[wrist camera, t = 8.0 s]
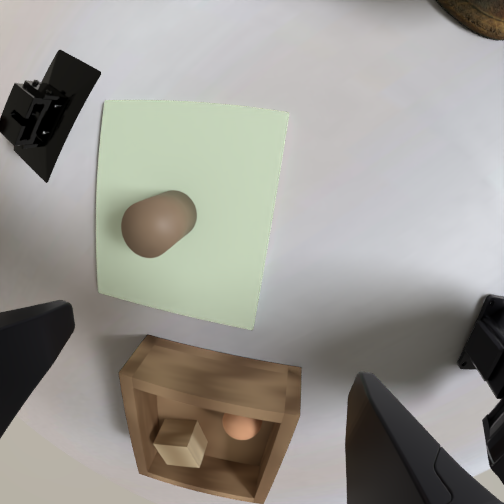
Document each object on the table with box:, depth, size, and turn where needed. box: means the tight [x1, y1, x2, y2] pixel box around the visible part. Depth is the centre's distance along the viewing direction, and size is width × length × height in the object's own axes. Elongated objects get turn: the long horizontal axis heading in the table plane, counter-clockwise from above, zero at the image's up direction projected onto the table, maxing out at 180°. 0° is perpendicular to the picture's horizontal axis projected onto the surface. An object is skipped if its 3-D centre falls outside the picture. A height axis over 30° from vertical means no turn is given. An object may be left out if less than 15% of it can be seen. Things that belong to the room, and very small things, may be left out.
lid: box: [96, 100, 289, 330], centre depth 18 cm, size 12×14×5 cm
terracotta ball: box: [222, 413, 262, 440], centre depth 22 cm, size 3×3×3 cm
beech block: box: [153, 419, 208, 468], centre depth 24 cm, size 3×3×3 cm
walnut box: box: [119, 335, 301, 504], centre depth 23 cm, size 12×14×5 cm
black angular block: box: [0, 50, 101, 183], centre depth 17 cm, size 12×7×5 cm, turn 143°
